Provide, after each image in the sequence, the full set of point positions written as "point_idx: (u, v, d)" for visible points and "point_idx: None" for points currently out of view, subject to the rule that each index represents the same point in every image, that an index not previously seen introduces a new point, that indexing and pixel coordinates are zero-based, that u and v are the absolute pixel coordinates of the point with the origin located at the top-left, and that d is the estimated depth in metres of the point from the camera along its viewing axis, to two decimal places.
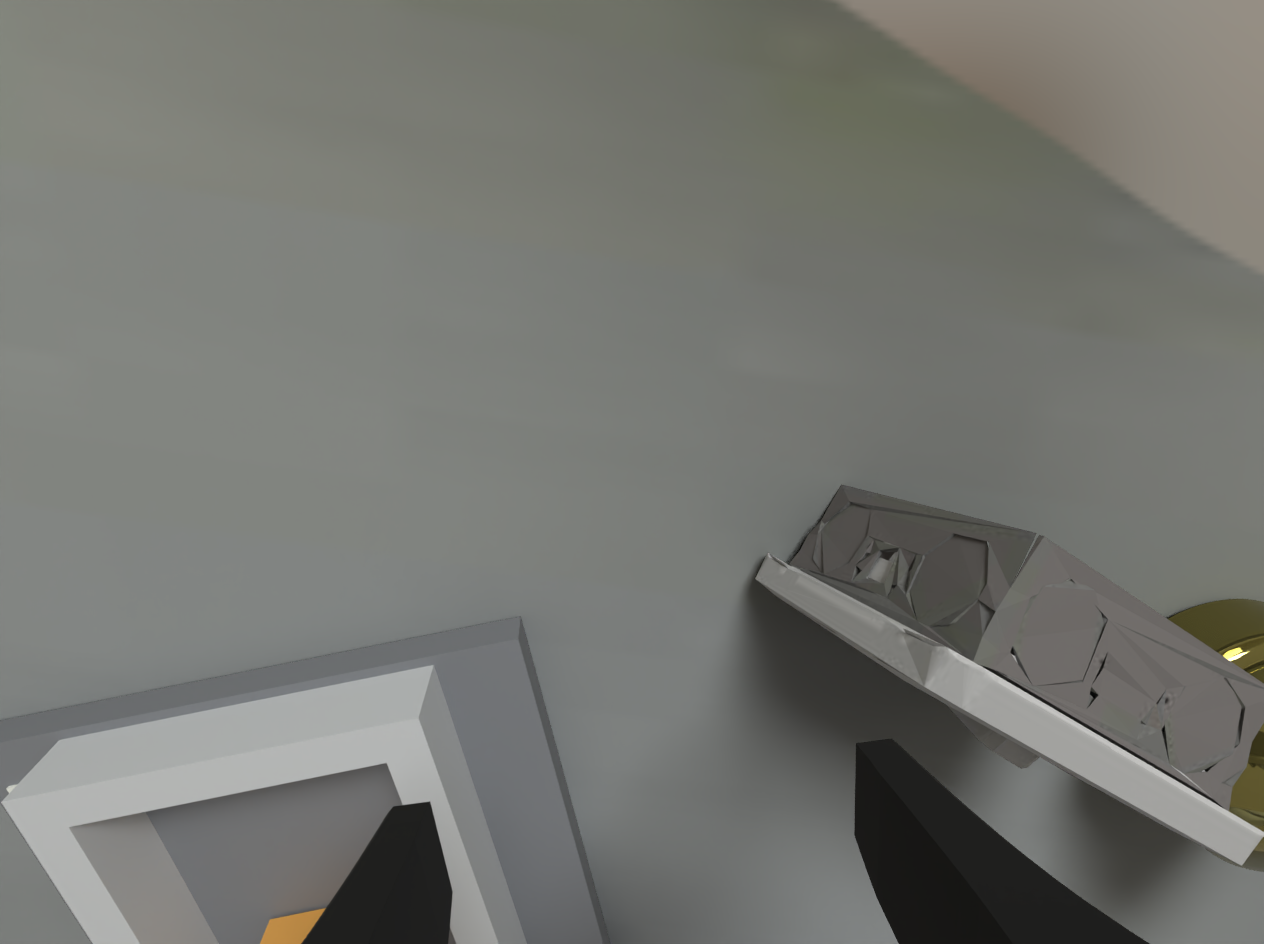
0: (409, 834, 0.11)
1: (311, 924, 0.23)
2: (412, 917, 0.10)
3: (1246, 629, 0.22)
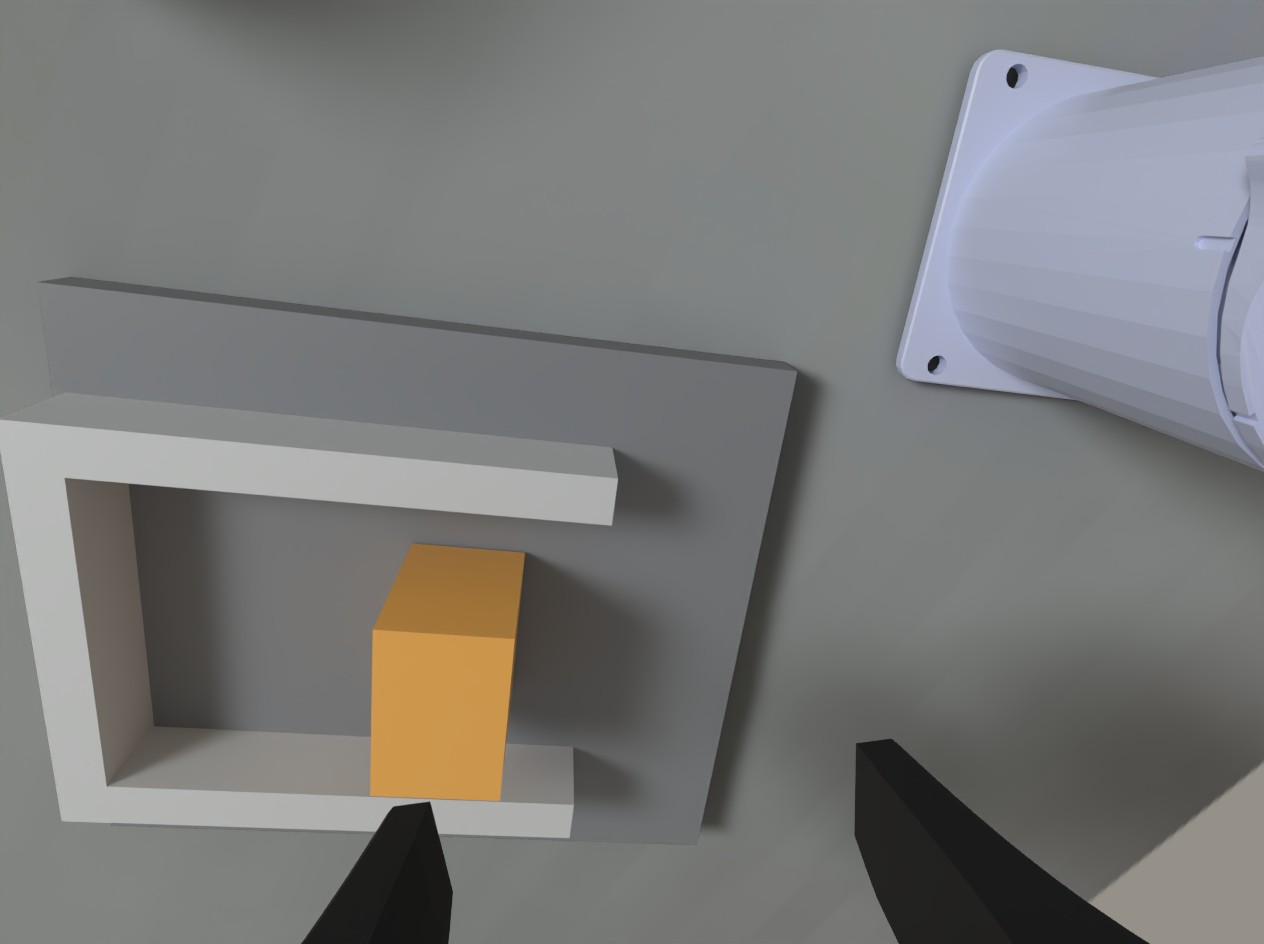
0: (409, 834, 0.11)
1: None
2: (412, 917, 0.10)
3: None
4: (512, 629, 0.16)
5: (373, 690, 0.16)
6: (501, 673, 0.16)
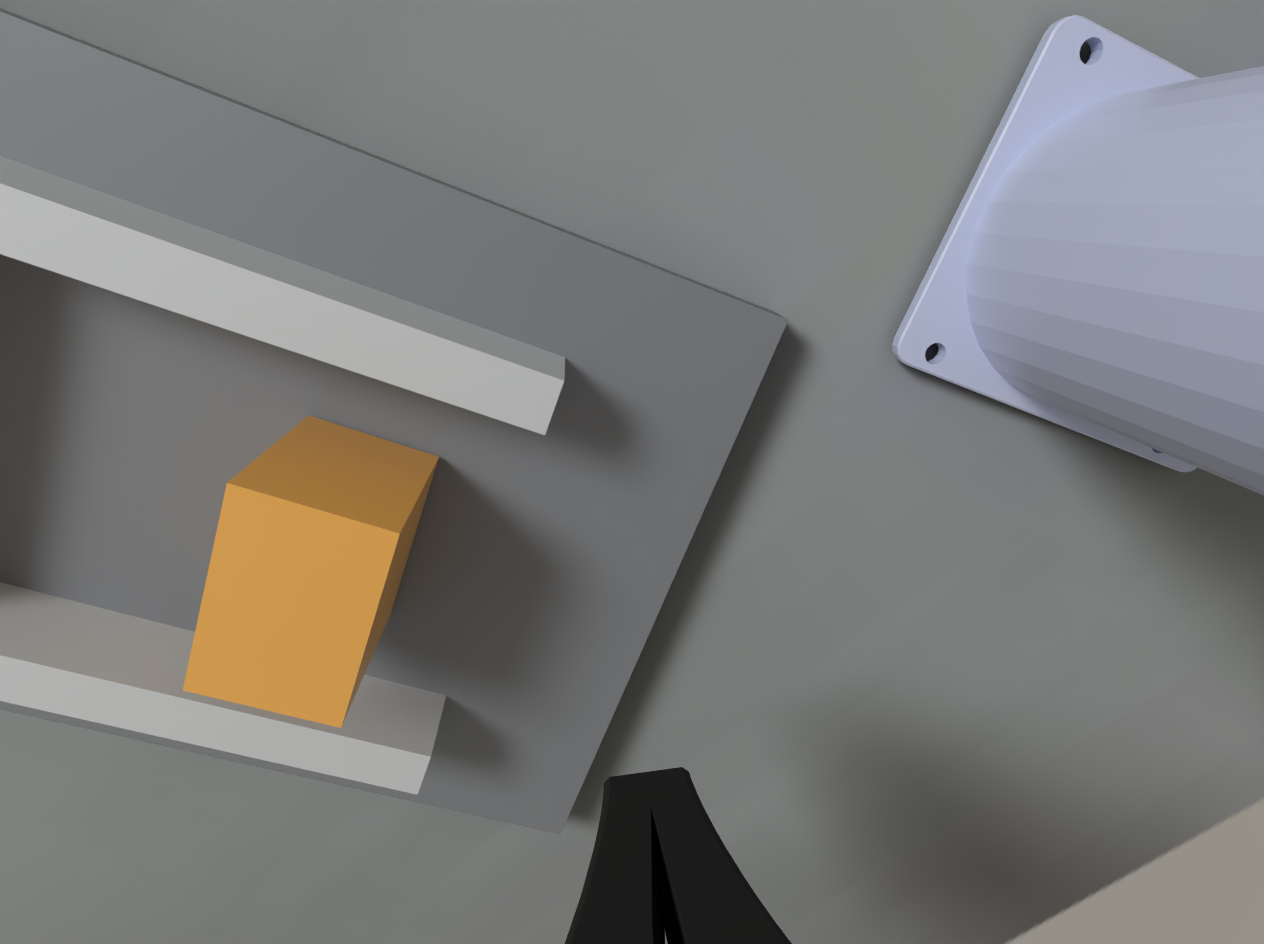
0: (642, 802, 0.11)
1: None
2: (656, 882, 0.11)
3: None
4: (400, 523, 0.13)
5: (212, 559, 0.13)
6: (375, 572, 0.13)
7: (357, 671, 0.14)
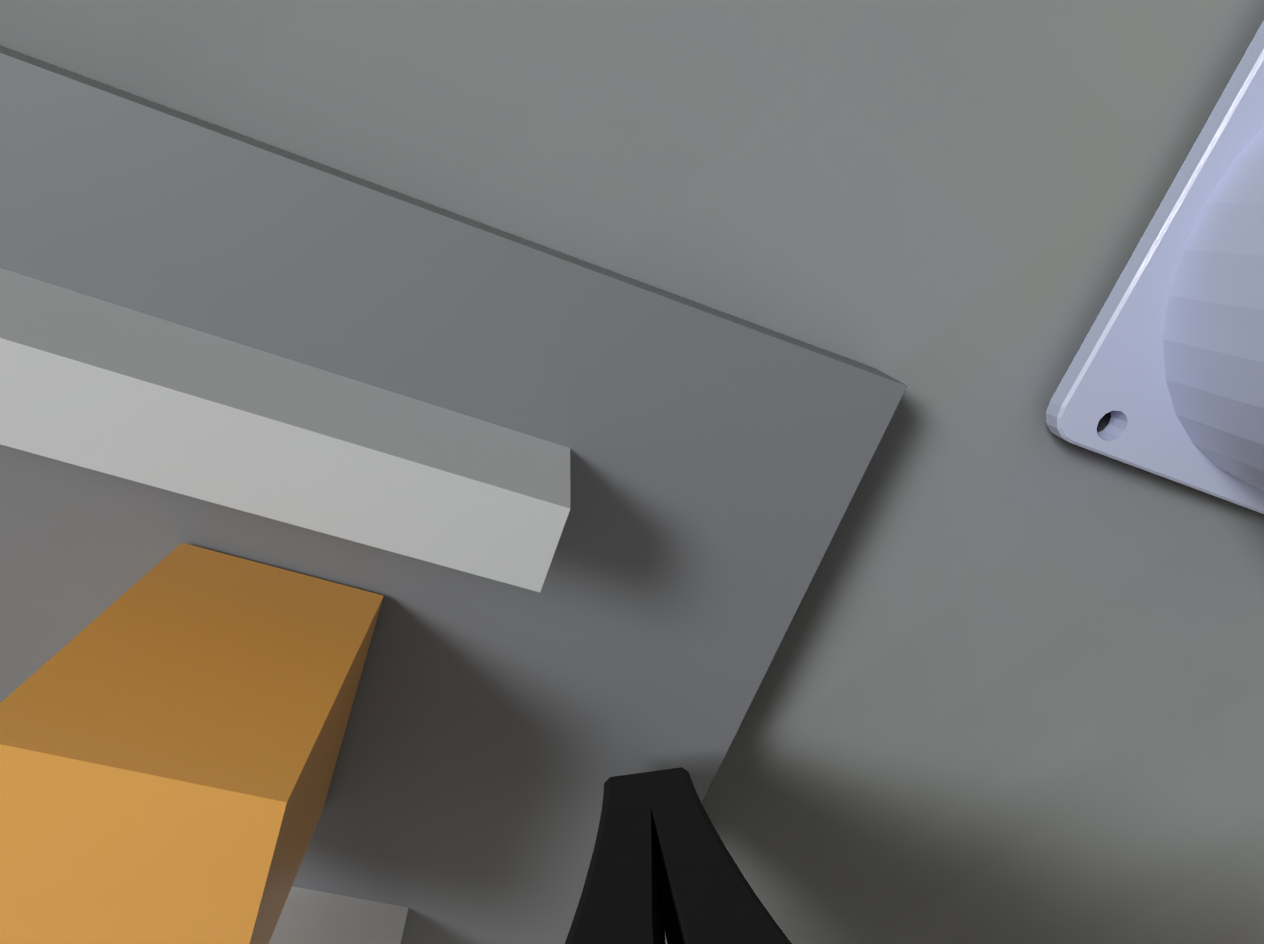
0: (642, 802, 0.11)
1: None
2: (656, 882, 0.11)
3: None
4: (292, 774, 0.08)
5: None
6: (248, 862, 0.08)
7: None
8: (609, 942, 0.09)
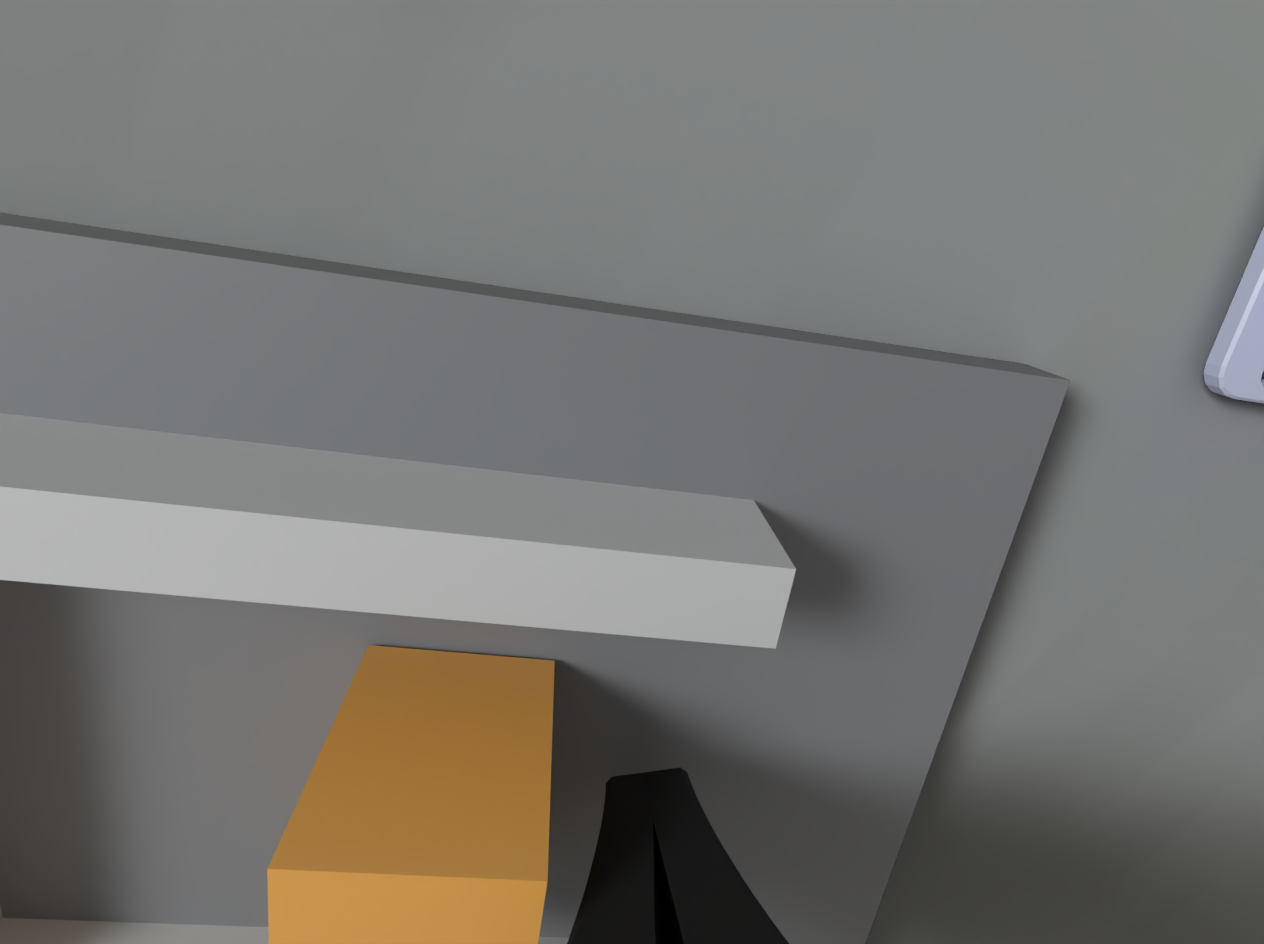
0: (644, 802, 0.11)
1: None
2: (658, 882, 0.11)
3: None
4: (541, 853, 0.09)
5: None
6: (520, 937, 0.08)
7: None
8: (611, 941, 0.09)
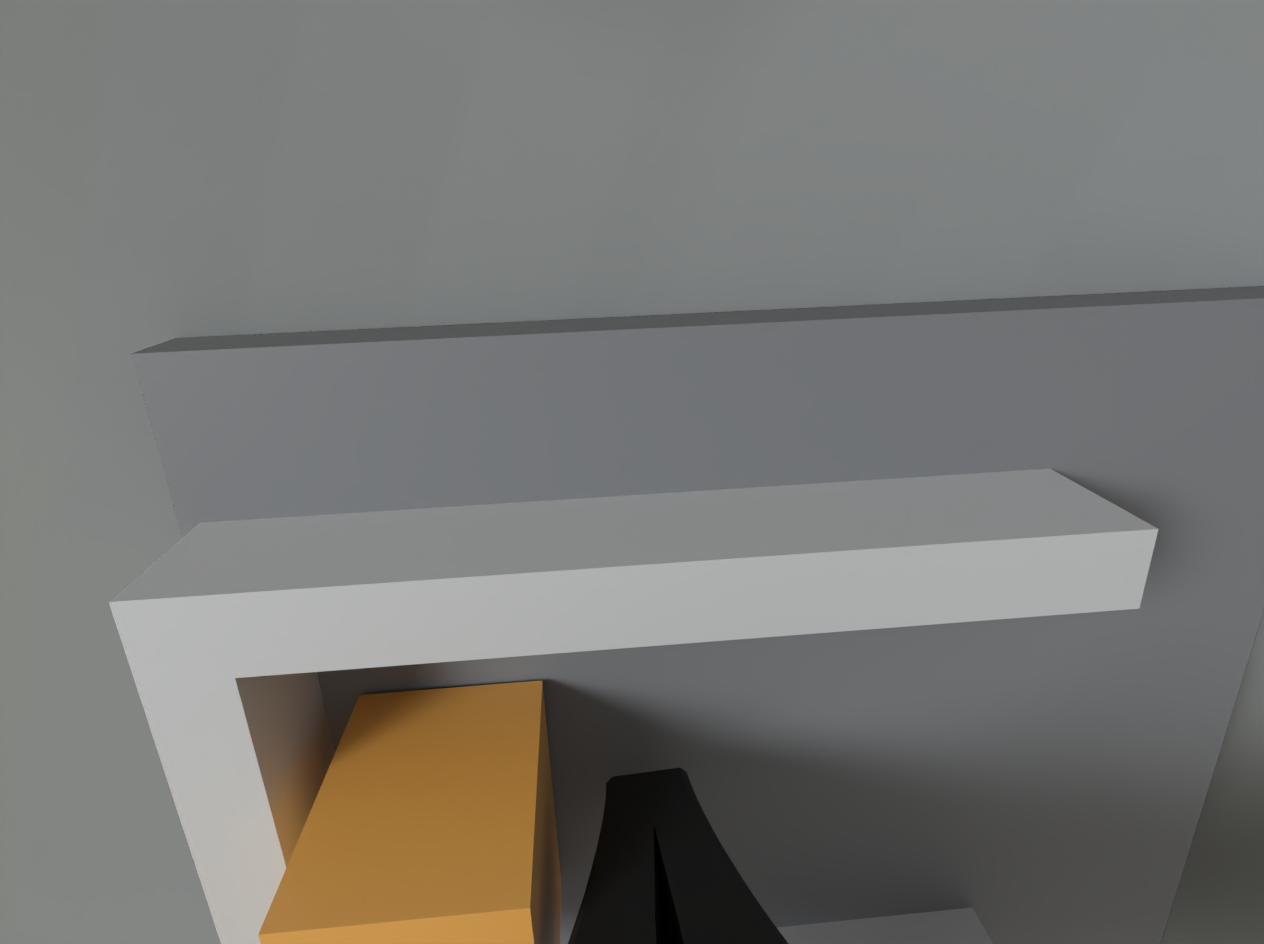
0: (645, 802, 0.11)
1: None
2: (659, 882, 0.11)
3: None
4: (525, 879, 0.09)
5: None
6: None
7: None
8: (613, 941, 0.09)
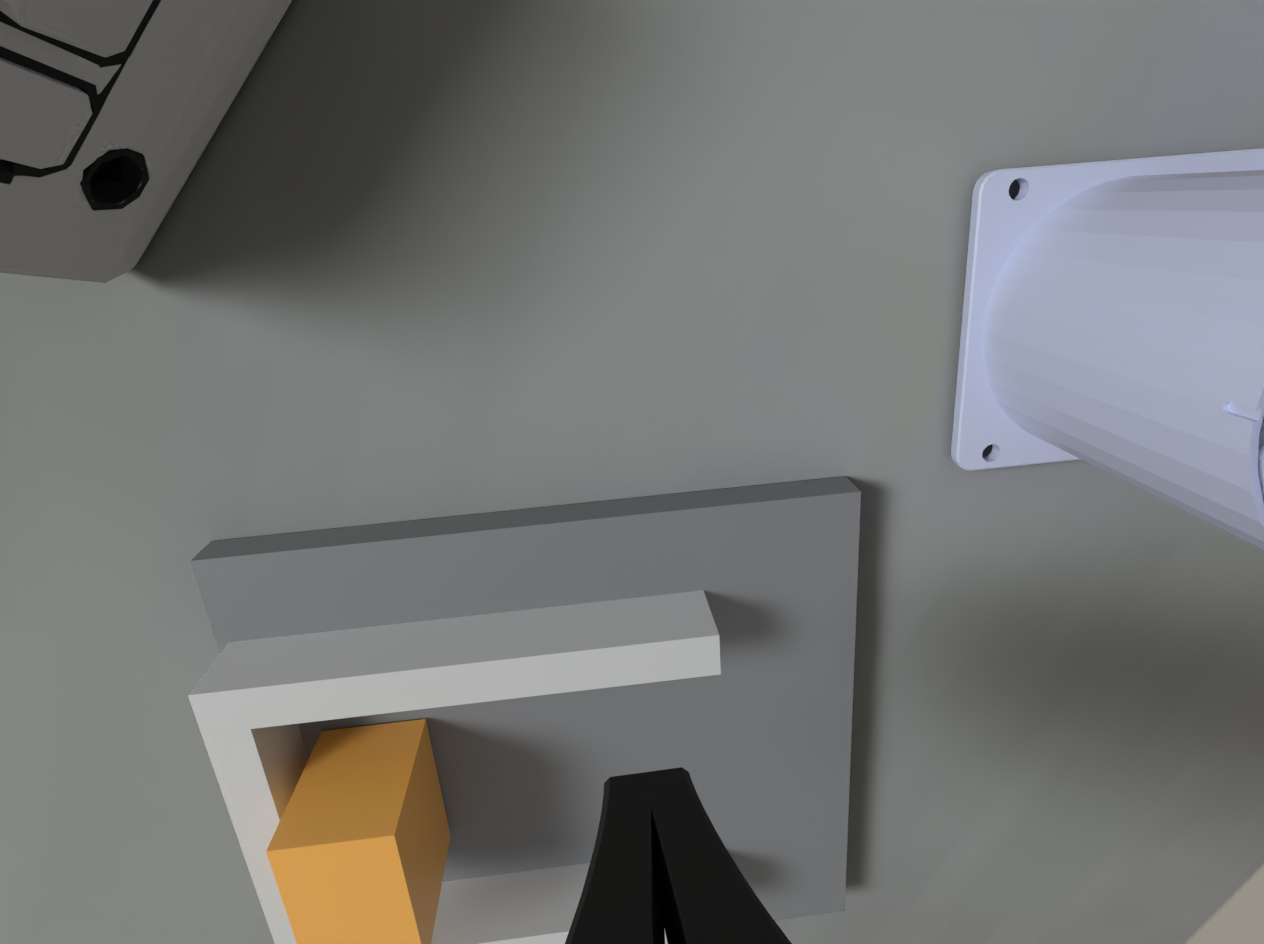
0: (642, 802, 0.11)
1: None
2: (656, 882, 0.11)
3: None
4: (394, 823, 0.18)
5: (283, 897, 0.18)
6: (392, 864, 0.18)
7: (417, 927, 0.19)
8: (609, 942, 0.09)
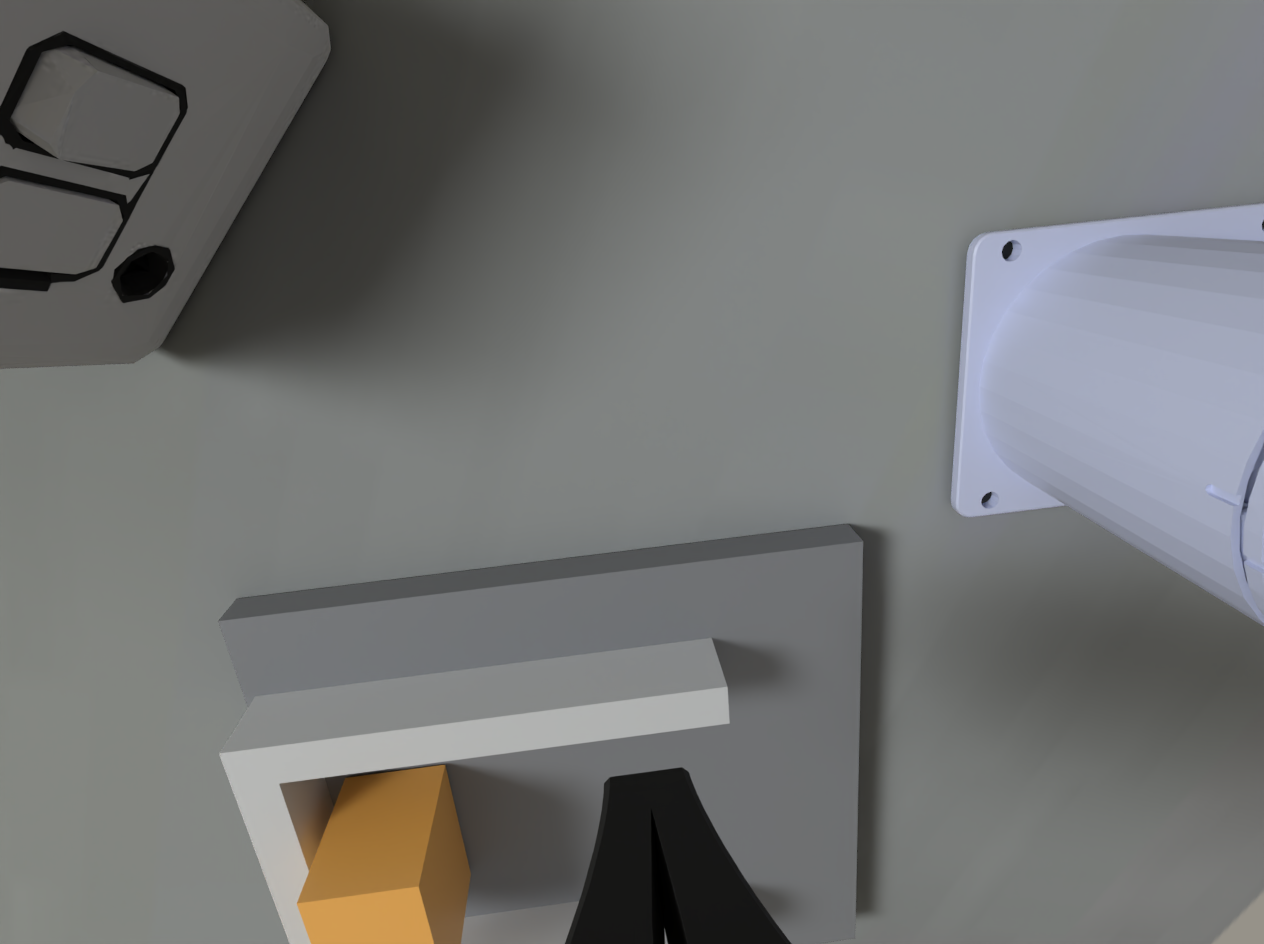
0: (642, 802, 0.11)
1: None
2: (656, 882, 0.11)
3: None
4: (418, 874, 0.18)
5: None
6: (417, 913, 0.18)
7: None
8: (609, 942, 0.09)
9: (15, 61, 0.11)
